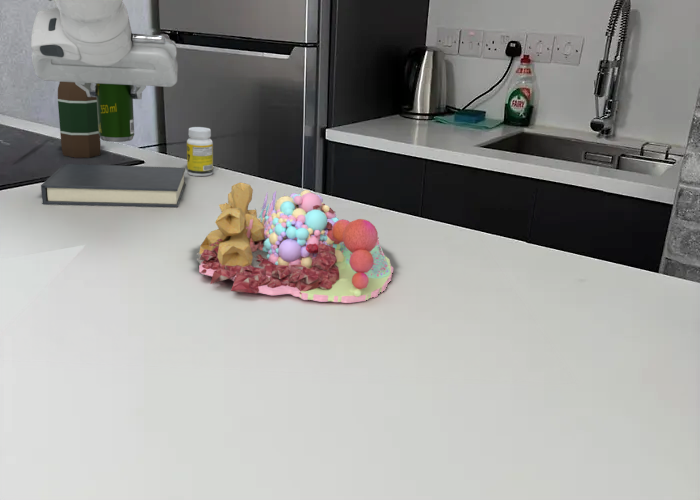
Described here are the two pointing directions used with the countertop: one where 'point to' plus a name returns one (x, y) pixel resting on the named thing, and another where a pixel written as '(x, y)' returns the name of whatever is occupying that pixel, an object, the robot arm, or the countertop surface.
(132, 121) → the beer can
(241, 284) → the candy landscape model
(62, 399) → the countertop surface
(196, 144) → the supplement bottle
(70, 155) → the beer bottle
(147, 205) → the book
